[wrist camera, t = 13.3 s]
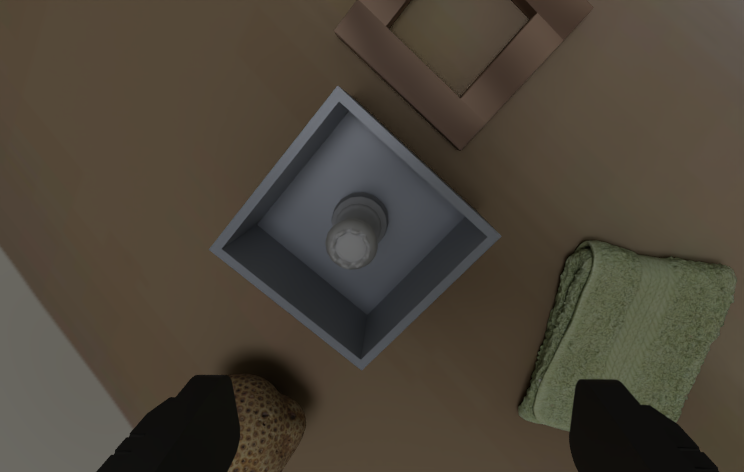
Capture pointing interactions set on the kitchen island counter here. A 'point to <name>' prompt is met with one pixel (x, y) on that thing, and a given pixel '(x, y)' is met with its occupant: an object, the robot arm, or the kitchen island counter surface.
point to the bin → (313, 222)
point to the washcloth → (627, 329)
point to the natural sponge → (265, 425)
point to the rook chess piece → (356, 230)
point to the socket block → (427, 91)
